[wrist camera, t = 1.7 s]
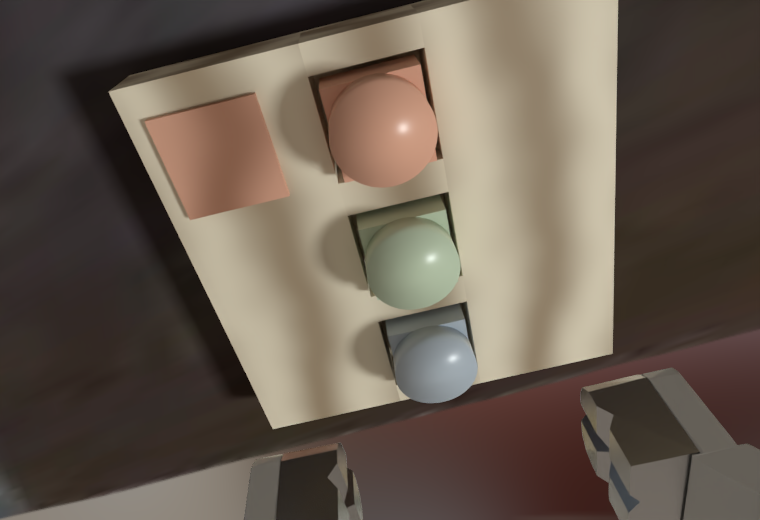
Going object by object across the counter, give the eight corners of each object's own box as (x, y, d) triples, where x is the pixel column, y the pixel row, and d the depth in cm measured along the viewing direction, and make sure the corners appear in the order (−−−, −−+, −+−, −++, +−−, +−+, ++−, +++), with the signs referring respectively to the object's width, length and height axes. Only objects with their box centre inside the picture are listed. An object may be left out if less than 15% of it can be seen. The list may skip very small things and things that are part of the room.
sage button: (373, 281, 31) (378, 318, 28) (353, 210, 28) (357, 243, 25) (452, 262, 31) (466, 298, 28) (440, 190, 28) (453, 220, 25)
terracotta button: (342, 169, 27) (344, 198, 24) (316, 76, 25) (315, 96, 22) (432, 147, 27) (445, 173, 24) (415, 51, 24) (427, 68, 22)
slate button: (397, 369, 34) (404, 410, 32) (382, 314, 32) (388, 352, 29) (468, 353, 34) (482, 393, 31) (458, 296, 32) (472, 333, 29)
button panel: (276, 394, 37) (272, 432, 35) (129, 75, 26) (105, 93, 23) (592, 323, 36) (614, 356, 34) (588, -42, 25) (621, -38, 22)
